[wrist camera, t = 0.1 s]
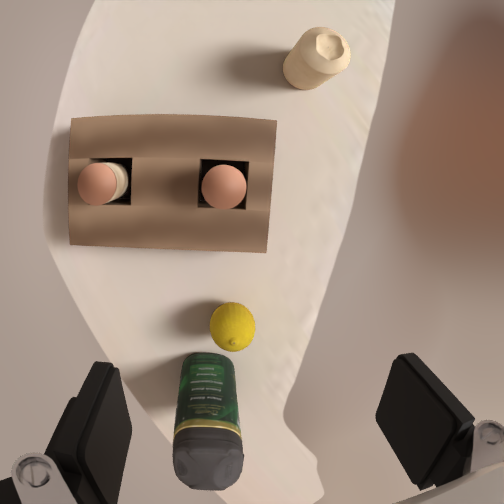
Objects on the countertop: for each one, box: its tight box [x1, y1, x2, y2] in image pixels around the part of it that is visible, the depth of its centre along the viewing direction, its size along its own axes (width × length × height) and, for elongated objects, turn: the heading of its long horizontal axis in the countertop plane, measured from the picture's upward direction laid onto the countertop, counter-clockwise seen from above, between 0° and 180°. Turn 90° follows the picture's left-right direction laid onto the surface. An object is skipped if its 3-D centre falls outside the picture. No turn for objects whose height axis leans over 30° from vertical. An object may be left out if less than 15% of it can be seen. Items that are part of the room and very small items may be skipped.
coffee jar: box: [173, 353, 244, 490], centre depth 36 cm, size 10×8×19 cm
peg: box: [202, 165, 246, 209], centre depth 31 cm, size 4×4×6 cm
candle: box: [283, 27, 351, 90], centre depth 30 cm, size 6×6×10 cm
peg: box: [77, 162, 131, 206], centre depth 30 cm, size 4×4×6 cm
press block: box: [68, 114, 277, 253], centre depth 34 cm, size 14×22×6 cm, turn 85°
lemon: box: [210, 302, 255, 352], centre depth 39 cm, size 6×6×8 cm
